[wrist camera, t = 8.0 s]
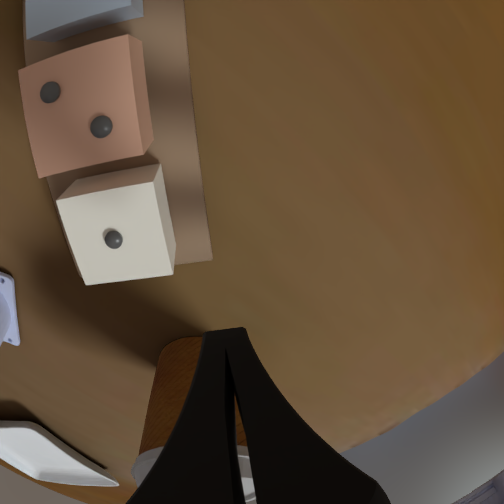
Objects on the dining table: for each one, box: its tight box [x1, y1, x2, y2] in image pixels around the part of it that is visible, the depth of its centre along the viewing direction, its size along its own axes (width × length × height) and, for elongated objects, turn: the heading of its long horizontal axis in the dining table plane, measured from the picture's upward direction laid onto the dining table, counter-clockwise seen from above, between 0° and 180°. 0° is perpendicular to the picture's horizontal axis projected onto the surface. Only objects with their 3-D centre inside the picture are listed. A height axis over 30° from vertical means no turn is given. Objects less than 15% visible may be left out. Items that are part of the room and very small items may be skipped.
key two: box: [18, 34, 154, 178], centre depth 11 cm, size 5×5×3 cm
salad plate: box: [0, 420, 119, 486], centre depth 33 cm, size 21×21×3 cm
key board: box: [23, 0, 213, 277], centre depth 13 cm, size 21×9×3 cm, turn 4°
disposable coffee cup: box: [131, 337, 256, 502], centre depth 21 cm, size 10×10×12 cm
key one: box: [56, 163, 176, 285], centre depth 16 cm, size 5×5×3 cm
